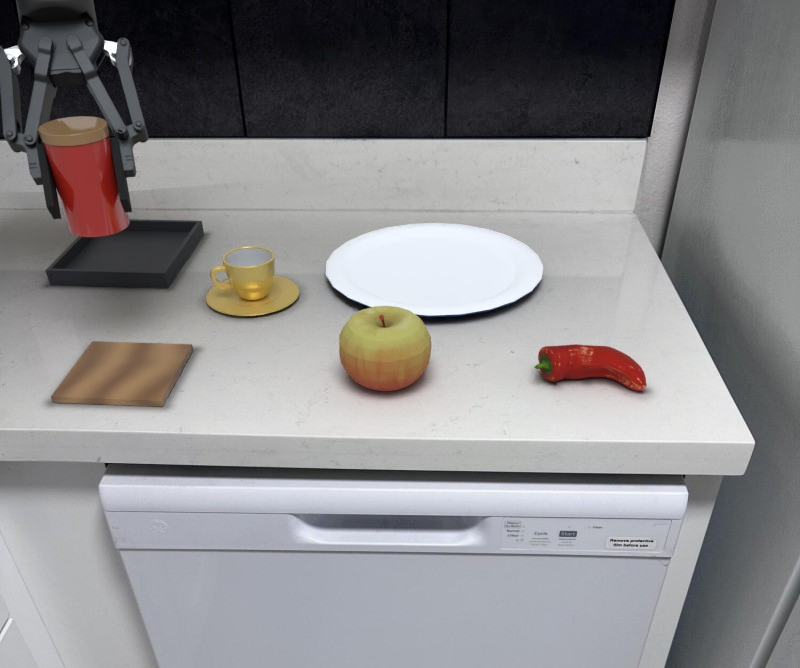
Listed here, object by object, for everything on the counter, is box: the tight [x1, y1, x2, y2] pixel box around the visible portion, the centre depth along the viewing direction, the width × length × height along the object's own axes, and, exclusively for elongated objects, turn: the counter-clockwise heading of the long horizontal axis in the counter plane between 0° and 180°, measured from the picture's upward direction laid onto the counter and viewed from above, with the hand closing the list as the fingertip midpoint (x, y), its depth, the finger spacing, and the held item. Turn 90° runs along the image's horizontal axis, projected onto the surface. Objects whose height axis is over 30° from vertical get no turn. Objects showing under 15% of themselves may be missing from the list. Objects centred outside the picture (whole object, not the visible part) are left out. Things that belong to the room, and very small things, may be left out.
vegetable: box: [533, 344, 647, 392], centre depth 85 cm, size 4×5×12 cm
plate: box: [325, 222, 544, 318], centre depth 106 cm, size 29×29×2 cm
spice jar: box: [38, 115, 130, 237], centre depth 82 cm, size 7×7×10 cm
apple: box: [338, 306, 432, 392], centre depth 84 cm, size 10×10×8 cm
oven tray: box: [44, 218, 205, 289], centre depth 111 cm, size 16×18×2 cm
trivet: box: [50, 340, 194, 408], centre depth 88 cm, size 12×12×1 cm
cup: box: [205, 245, 300, 317], centre depth 100 cm, size 12×12×5 cm
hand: (90, 209), depth 81 cm, fingers closed on spice jar, 6 cm apart
